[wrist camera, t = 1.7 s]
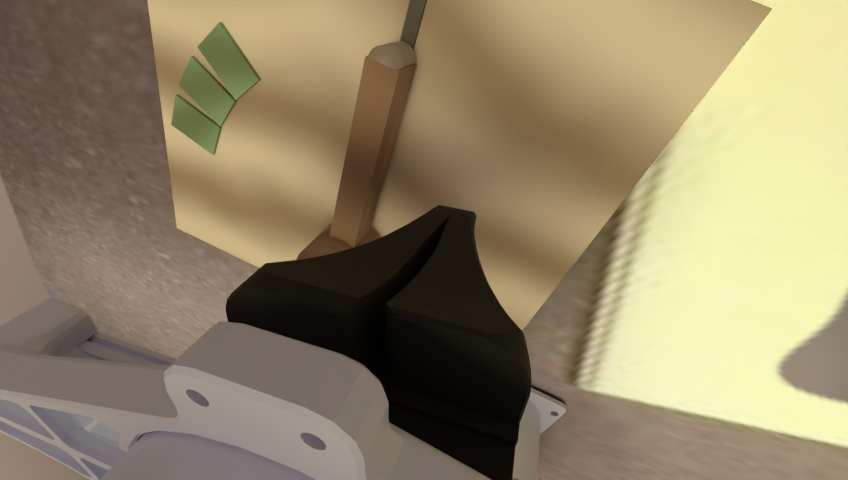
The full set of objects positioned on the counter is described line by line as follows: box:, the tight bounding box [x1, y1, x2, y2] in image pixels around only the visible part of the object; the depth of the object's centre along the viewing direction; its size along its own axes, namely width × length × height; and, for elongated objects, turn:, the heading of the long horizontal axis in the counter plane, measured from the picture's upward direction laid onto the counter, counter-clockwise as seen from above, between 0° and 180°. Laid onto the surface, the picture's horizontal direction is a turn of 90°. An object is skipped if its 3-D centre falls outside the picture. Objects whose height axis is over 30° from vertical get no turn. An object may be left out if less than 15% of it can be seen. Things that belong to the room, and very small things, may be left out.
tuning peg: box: [296, 41, 417, 260], centre depth 17 cm, size 13×4×3 cm, turn 162°
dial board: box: [148, 0, 772, 330], centre depth 19 cm, size 22×24×1 cm
